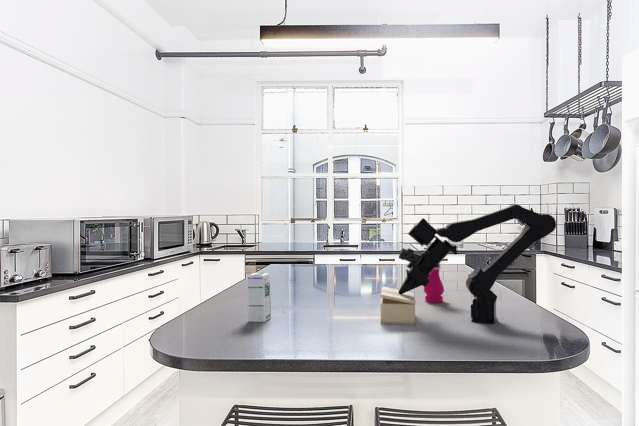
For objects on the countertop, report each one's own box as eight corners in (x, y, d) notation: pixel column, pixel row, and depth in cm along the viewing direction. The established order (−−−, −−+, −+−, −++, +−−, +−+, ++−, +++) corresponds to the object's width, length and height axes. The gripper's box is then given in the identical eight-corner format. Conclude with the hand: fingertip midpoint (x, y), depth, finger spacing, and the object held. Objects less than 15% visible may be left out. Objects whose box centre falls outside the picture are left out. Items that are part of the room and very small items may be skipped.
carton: (413, 314, 150) (412, 295, 149) (415, 324, 136) (414, 304, 136) (381, 313, 151) (381, 295, 151) (380, 324, 137) (380, 303, 137)
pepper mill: (442, 299, 173) (441, 246, 173) (445, 303, 166) (444, 247, 165) (422, 299, 173) (421, 246, 173) (425, 303, 166) (424, 247, 166)
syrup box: (265, 322, 142) (264, 275, 142) (247, 321, 143) (246, 274, 143) (271, 318, 147) (270, 272, 147) (253, 317, 148) (252, 272, 148)
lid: (412, 295, 150) (413, 292, 150) (415, 304, 135) (415, 301, 135) (381, 288, 151) (382, 286, 151) (380, 297, 137) (381, 294, 137)
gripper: (411, 236, 152) (380, 271, 153) (414, 240, 133) (378, 280, 135) (438, 259, 150) (406, 294, 152) (444, 266, 132) (408, 306, 134)
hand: (399, 293), depth 143 cm, fingers closed, pressing on lid
